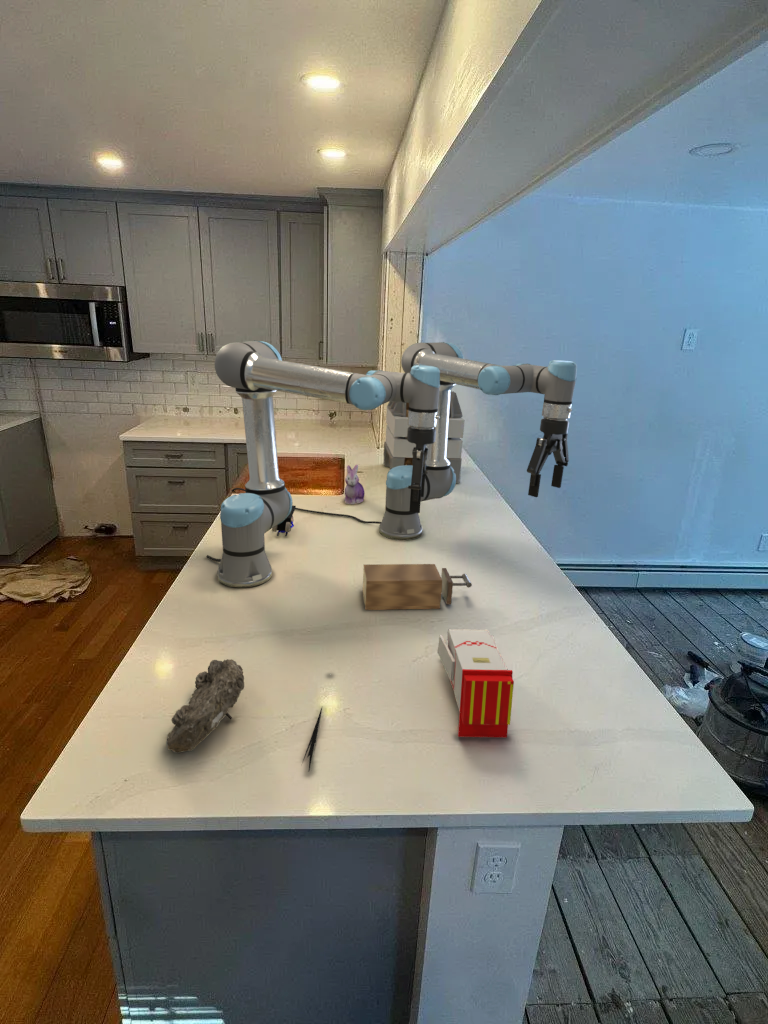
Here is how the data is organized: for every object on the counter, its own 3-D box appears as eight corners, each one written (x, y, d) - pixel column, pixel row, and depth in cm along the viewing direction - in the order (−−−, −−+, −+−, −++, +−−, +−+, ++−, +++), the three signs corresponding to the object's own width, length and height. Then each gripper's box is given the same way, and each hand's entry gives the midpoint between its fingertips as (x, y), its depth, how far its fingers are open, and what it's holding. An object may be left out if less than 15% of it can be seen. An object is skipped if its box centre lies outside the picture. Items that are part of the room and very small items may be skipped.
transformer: (382, 463, 289) (386, 382, 275) (445, 464, 293) (451, 384, 279) (390, 482, 257) (394, 392, 243) (460, 483, 261) (468, 394, 247)
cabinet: (432, 591, 160) (435, 563, 157) (439, 608, 151) (442, 580, 148) (362, 592, 158) (363, 564, 155) (365, 610, 149) (366, 580, 146)
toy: (488, 613, 130) (523, 677, 101) (484, 667, 133) (517, 744, 104) (435, 612, 130) (455, 676, 101) (432, 666, 133) (451, 743, 103)
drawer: (463, 588, 160) (465, 567, 158) (471, 604, 152) (474, 582, 150) (378, 589, 158) (379, 568, 155) (381, 605, 149) (382, 583, 147)
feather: (331, 679, 122) (336, 673, 122) (307, 777, 96) (313, 769, 95) (324, 675, 122) (329, 669, 121) (298, 772, 95) (304, 764, 95)
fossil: (192, 660, 117) (244, 628, 112) (224, 691, 120) (276, 661, 115) (142, 746, 98) (202, 712, 93) (182, 779, 101) (242, 748, 96)
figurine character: (291, 542, 192) (296, 522, 205) (290, 522, 188) (296, 503, 202) (271, 542, 191) (278, 521, 205) (270, 522, 188) (277, 502, 201)
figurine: (348, 506, 225) (349, 469, 220) (338, 498, 233) (339, 463, 228) (369, 503, 229) (371, 467, 224) (359, 496, 237) (360, 461, 232)
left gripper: (433, 438, 136) (427, 520, 143) (438, 419, 159) (433, 491, 166) (402, 435, 137) (397, 518, 144) (412, 417, 160) (407, 489, 167)
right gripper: (545, 425, 146) (534, 503, 153) (587, 415, 163) (576, 486, 171) (520, 421, 151) (510, 496, 158) (563, 412, 168) (553, 480, 175)
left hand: (416, 504), depth 155 cm, fingers open, 13 cm apart
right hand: (544, 491), depth 164 cm, fingers open, 13 cm apart
